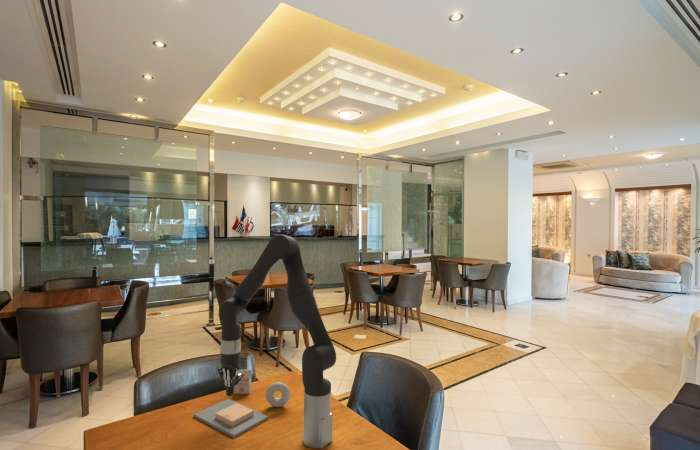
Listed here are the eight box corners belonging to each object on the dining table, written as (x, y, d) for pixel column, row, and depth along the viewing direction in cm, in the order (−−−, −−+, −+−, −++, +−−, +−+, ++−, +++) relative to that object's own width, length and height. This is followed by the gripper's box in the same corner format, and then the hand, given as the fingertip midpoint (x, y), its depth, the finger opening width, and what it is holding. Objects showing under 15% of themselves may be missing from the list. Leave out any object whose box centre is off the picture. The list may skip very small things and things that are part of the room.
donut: (290, 404, 152) (291, 380, 152) (289, 409, 148) (289, 384, 148) (266, 404, 152) (267, 380, 152) (264, 408, 148) (265, 383, 148)
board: (268, 418, 140) (268, 416, 140) (233, 438, 127) (233, 435, 127) (228, 401, 154) (228, 398, 154) (193, 416, 141) (193, 414, 141)
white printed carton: (235, 390, 164) (236, 368, 164) (251, 390, 164) (251, 368, 164) (233, 394, 160) (234, 371, 160) (249, 394, 161) (249, 371, 161)
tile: (236, 407, 146) (253, 415, 140) (215, 418, 138) (232, 427, 132) (236, 402, 146) (253, 410, 140) (215, 413, 138) (232, 421, 132)
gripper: (249, 351, 141) (248, 396, 140) (227, 344, 148) (226, 387, 148) (233, 356, 134) (232, 403, 134) (211, 349, 142) (210, 394, 142)
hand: (229, 395), depth 141 cm, fingers closed
